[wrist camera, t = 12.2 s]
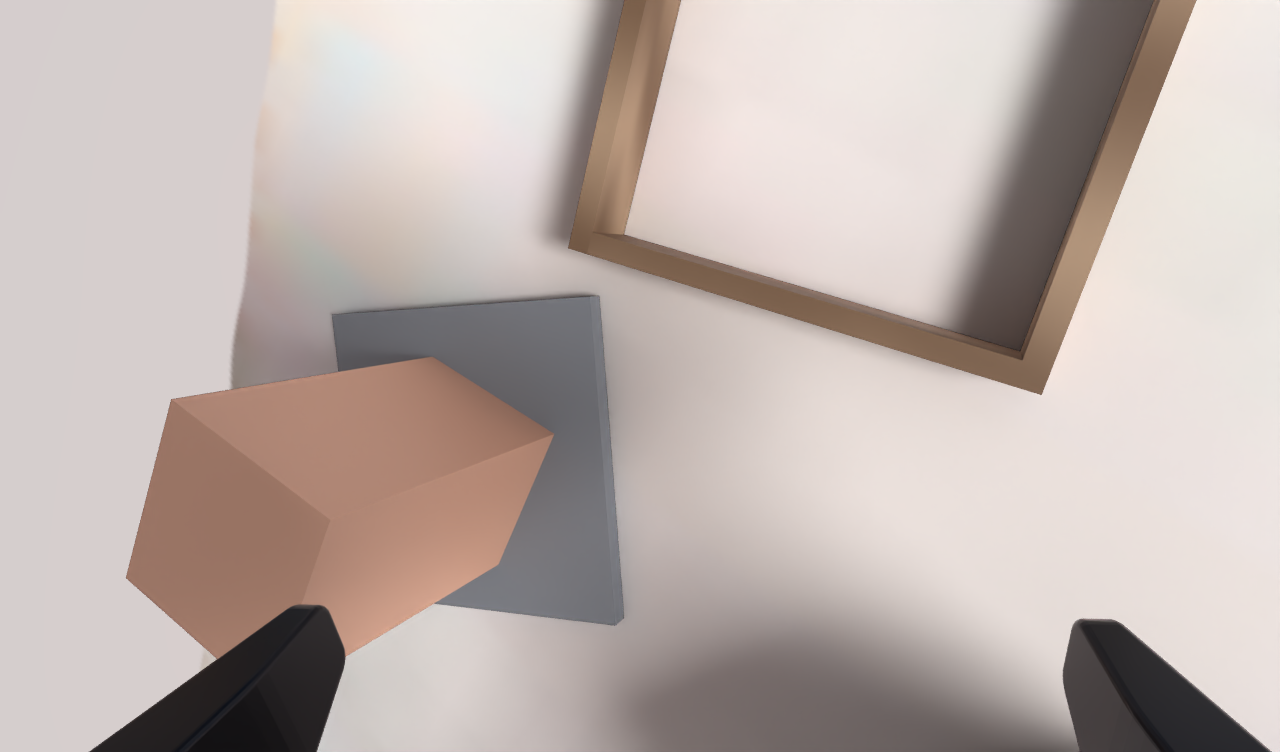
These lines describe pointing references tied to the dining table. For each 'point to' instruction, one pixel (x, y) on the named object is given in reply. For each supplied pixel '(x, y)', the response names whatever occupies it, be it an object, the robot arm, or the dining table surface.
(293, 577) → the terracotta block
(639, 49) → the walnut well
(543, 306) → the slate pad
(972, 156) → the dining table surface
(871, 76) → the dining table surface
